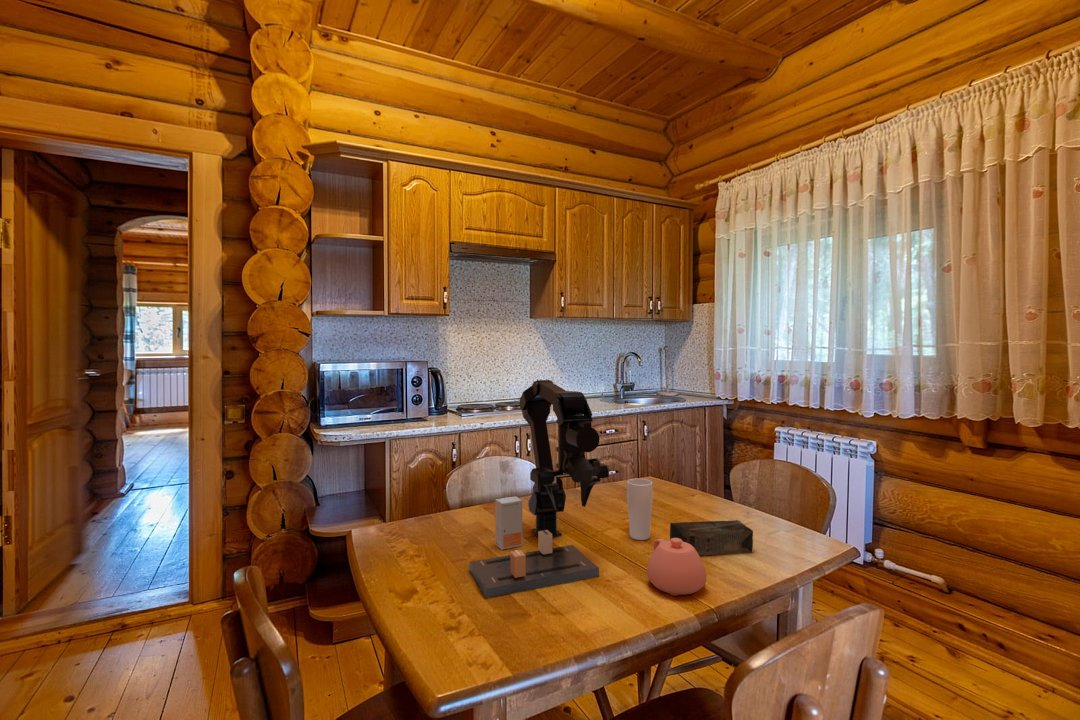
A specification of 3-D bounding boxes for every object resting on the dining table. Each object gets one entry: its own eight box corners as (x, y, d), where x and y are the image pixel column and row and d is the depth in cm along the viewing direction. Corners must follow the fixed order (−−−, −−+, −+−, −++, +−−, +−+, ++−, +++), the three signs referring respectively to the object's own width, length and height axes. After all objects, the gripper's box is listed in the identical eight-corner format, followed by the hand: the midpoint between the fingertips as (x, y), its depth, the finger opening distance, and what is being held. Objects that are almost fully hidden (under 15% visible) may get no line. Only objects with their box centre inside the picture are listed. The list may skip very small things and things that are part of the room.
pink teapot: (670, 605, 103) (670, 555, 103) (631, 576, 116) (631, 531, 116) (719, 593, 108) (719, 544, 108) (675, 566, 121) (676, 523, 121)
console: (469, 570, 120) (469, 561, 120) (572, 552, 129) (572, 544, 129) (485, 598, 107) (485, 588, 107) (598, 576, 116) (598, 567, 116)
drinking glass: (652, 543, 135) (652, 485, 135) (626, 541, 137) (626, 484, 136) (652, 533, 142) (652, 478, 142) (627, 531, 143) (627, 477, 143)
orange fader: (510, 572, 113) (510, 550, 113) (520, 570, 114) (520, 549, 114) (515, 577, 111) (514, 555, 110) (525, 575, 112) (525, 554, 111)
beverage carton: (754, 554, 129) (754, 527, 128) (680, 559, 126) (680, 532, 126) (738, 541, 136) (738, 516, 136) (667, 546, 134) (667, 521, 134)
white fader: (538, 549, 125) (538, 530, 125) (547, 548, 126) (547, 529, 126) (543, 554, 123) (542, 534, 123) (552, 552, 124) (552, 533, 123)
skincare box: (501, 550, 131) (501, 503, 131) (494, 544, 135) (494, 499, 134) (523, 546, 134) (523, 500, 133) (516, 540, 138) (515, 495, 137)
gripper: (547, 454, 115) (547, 524, 116) (620, 447, 122) (620, 513, 123) (529, 445, 125) (529, 509, 126) (598, 439, 132) (598, 500, 133)
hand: (570, 508), depth 127 cm, fingers open, 7 cm apart
